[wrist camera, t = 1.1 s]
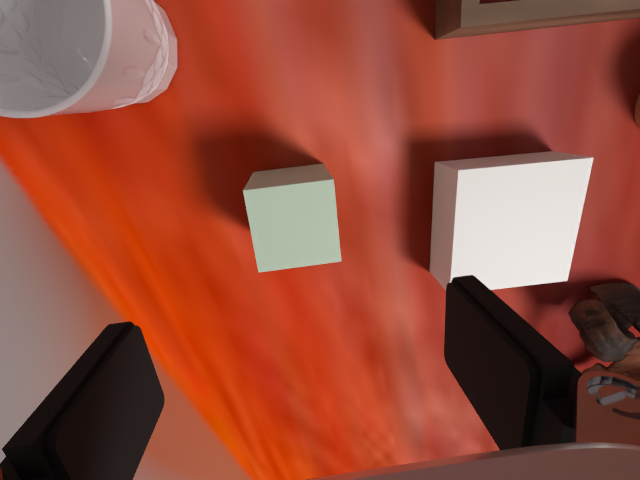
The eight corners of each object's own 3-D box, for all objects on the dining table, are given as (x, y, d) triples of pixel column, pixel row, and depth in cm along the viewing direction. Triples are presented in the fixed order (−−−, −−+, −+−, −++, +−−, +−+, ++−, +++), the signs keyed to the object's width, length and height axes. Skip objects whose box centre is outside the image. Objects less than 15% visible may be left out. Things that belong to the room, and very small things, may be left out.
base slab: (433, 161, 25) (458, 170, 21) (549, 150, 26) (593, 157, 22) (428, 270, 28) (449, 294, 25) (531, 259, 29) (567, 280, 25)
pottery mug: (661, 297, 32) (728, 390, 27) (556, 330, 38) (595, 412, 33) (616, 250, 26) (692, 359, 21) (500, 299, 32) (536, 393, 27)
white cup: (156, 138, 23) (64, 159, 13) (31, 64, 21) (-180, 27, 11) (211, 25, 21) (148, -43, 11) (79, -69, 19) (-130, -248, 9)
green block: (253, 171, 24) (242, 190, 19) (323, 163, 24) (333, 179, 19) (264, 237, 26) (258, 272, 20) (330, 228, 26) (341, 261, 21)
